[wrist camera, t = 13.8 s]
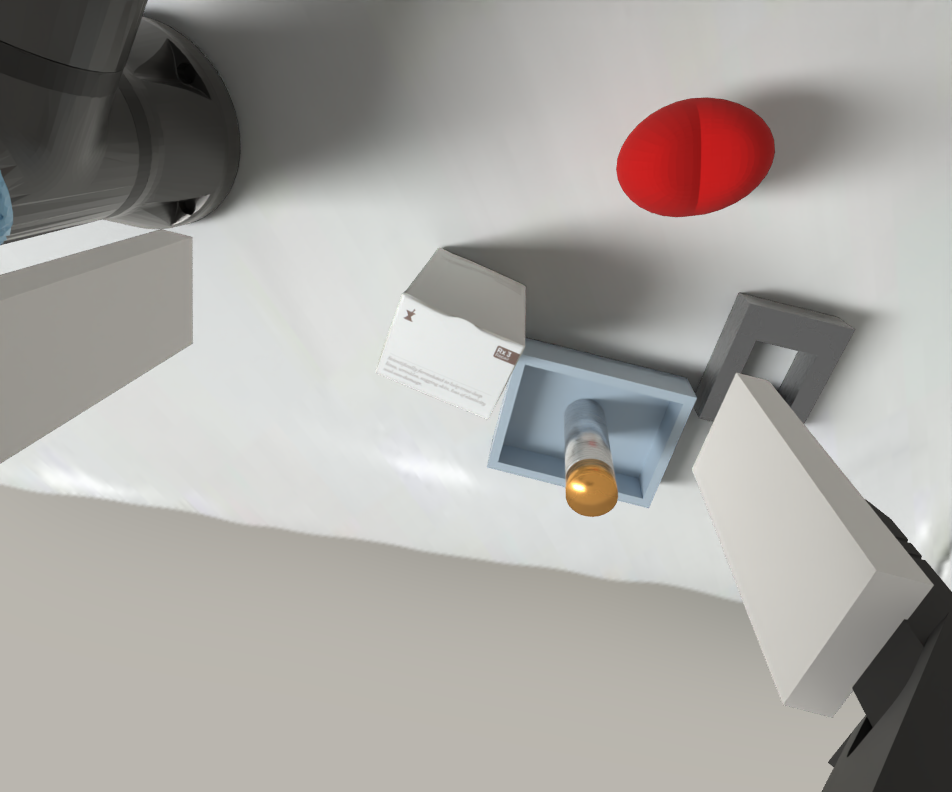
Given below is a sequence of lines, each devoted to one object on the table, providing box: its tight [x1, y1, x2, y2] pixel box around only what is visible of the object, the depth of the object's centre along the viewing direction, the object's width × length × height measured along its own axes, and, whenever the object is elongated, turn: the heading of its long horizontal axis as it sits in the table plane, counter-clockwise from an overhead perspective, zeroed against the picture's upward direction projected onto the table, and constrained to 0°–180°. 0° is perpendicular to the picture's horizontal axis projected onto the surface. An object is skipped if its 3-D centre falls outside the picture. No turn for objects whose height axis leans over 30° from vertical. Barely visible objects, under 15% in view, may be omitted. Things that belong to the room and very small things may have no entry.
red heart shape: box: [616, 98, 775, 217], centre depth 38 cm, size 9×7×10 cm
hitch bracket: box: [694, 293, 855, 424], centre depth 47 cm, size 8×10×3 cm
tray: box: [487, 338, 697, 508], centre depth 51 cm, size 15×11×4 cm
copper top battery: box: [564, 399, 618, 517], centre depth 46 cm, size 4×4×12 cm
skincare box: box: [376, 248, 526, 420], centre depth 43 cm, size 8×6×15 cm
